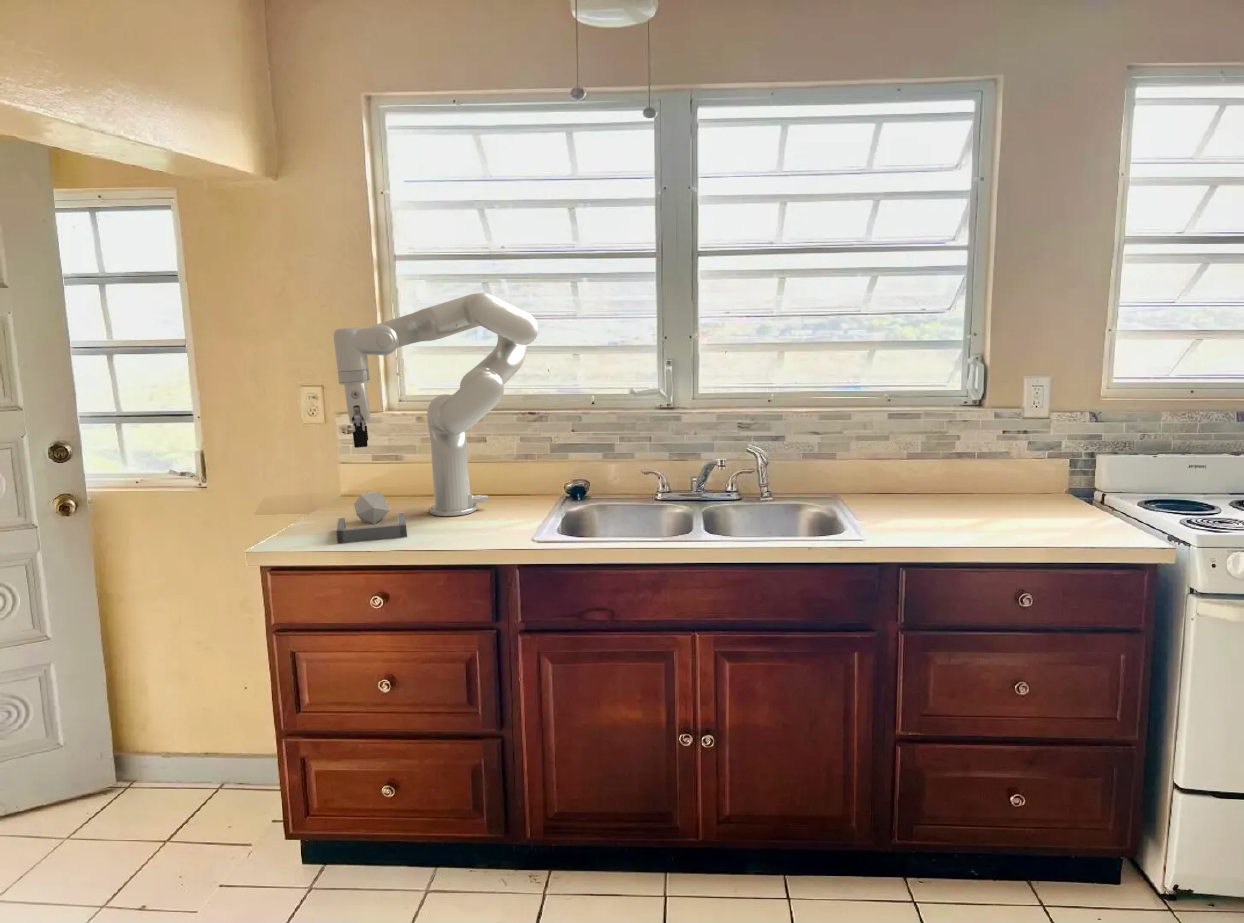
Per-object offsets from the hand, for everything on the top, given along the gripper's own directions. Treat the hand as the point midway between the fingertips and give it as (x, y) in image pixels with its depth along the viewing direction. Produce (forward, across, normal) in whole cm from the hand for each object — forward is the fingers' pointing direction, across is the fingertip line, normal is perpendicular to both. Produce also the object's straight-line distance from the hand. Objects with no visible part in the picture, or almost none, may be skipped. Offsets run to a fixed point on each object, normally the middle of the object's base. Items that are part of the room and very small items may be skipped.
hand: (361, 444), depth 215 cm
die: (+21, 0, -1) cm, 21 cm away
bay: (+20, -13, -1) cm, 24 cm away
